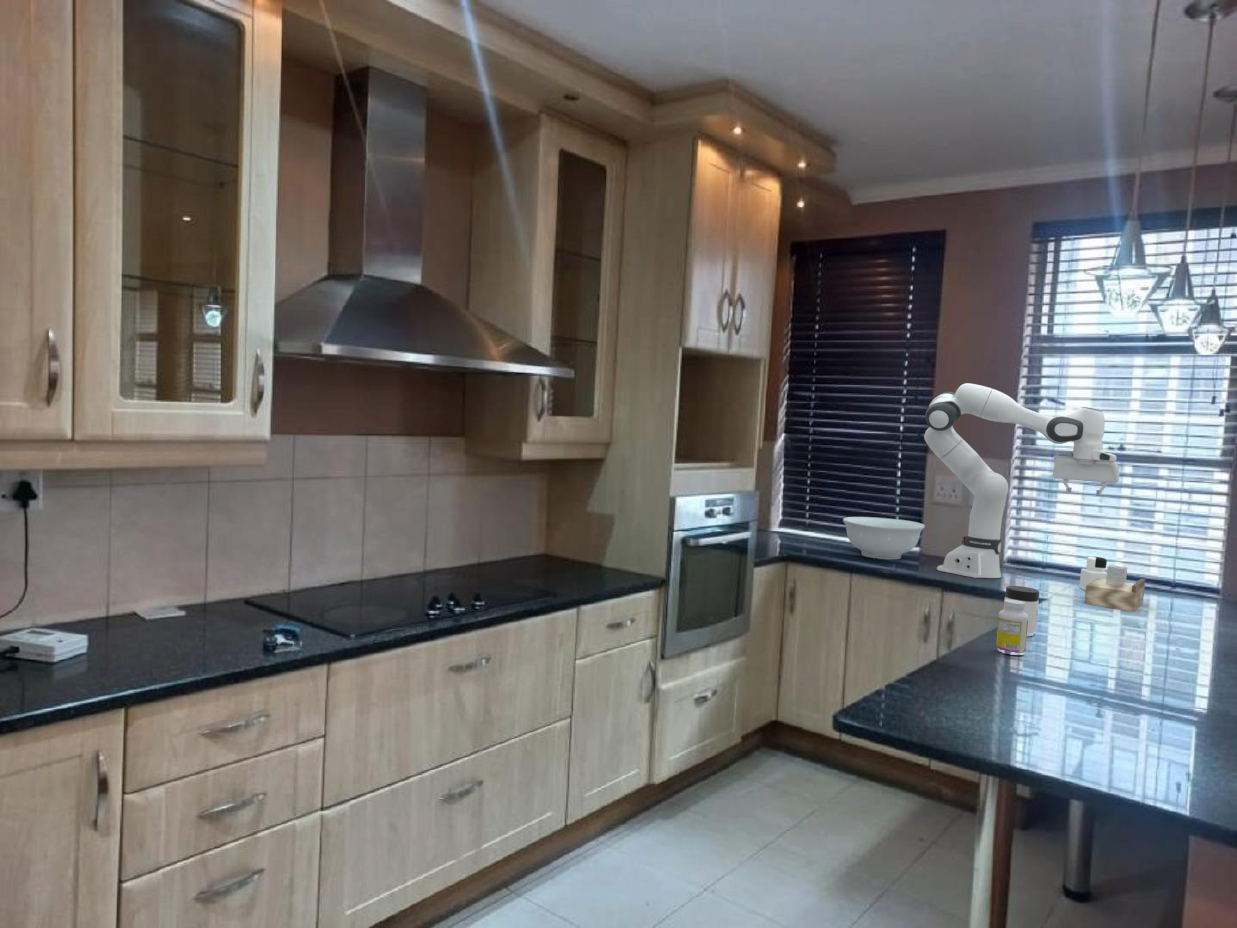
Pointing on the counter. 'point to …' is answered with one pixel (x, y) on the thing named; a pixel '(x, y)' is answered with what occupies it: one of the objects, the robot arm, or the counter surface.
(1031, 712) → the counter surface
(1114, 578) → the lock block
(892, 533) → the bowl
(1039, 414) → the robot arm
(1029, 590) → the jar
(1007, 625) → the supplement bottle
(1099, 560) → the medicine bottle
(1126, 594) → the riser
